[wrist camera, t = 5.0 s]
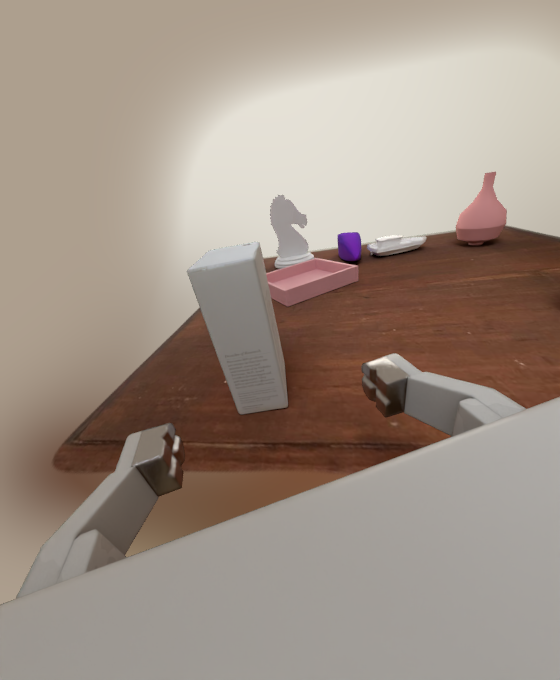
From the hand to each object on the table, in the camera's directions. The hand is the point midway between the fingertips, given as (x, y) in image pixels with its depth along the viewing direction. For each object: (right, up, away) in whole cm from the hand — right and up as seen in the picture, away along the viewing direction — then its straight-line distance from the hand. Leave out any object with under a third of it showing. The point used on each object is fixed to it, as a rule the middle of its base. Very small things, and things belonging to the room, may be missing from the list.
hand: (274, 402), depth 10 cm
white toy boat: (+26, +22, +44) cm, 56 cm away
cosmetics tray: (+5, +13, +35) cm, 38 cm away
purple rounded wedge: (+16, +21, +46) cm, 54 cm away
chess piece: (+4, +22, +52) cm, 56 cm away
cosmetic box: (-1, -2, +12) cm, 12 cm away
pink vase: (+39, +22, +40) cm, 60 cm away
